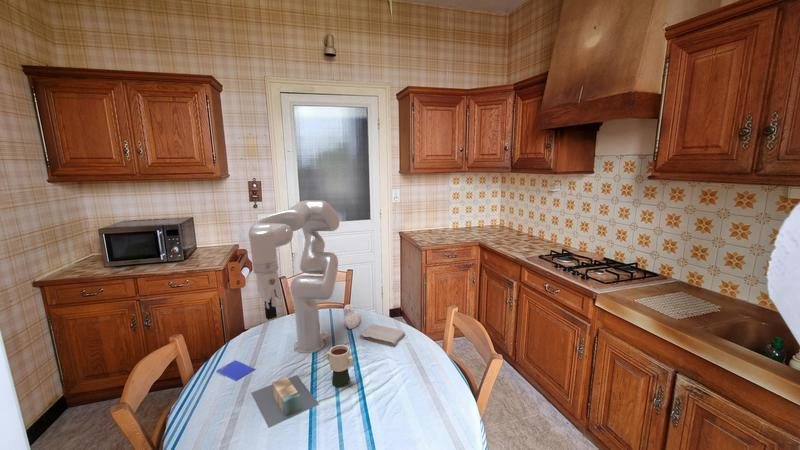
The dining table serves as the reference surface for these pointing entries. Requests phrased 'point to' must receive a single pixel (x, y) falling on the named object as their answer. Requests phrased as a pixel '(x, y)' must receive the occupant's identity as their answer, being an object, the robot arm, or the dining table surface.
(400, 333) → the washcloth
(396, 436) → the dining table surface
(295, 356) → the dining table surface
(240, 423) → the dining table surface
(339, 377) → the character mug
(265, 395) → the rubber mat
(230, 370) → the hard drive
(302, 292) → the robot arm
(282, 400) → the maple block
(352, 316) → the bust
